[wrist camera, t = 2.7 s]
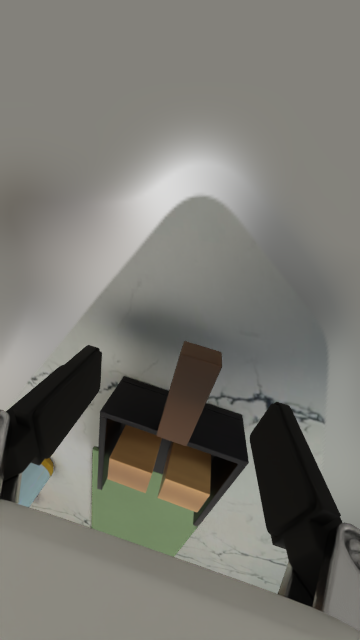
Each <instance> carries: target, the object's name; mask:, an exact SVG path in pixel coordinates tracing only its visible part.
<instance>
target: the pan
mask: <svg viewBox="0 0 360 640" xmlns="http://www.w3.org/2000/svg"><path fill="white" fill-rule="evenodd" d="M221 368H222V353H221V352H219V351H216V350H213V349H209V348H206V347H203V346H200V345H196V344H193V343H190V342H187V341H184V343H183V346H182V349H181V352H180V356H179V359H178V362H177V366H176V369H175V373H174V376H173V379H172V383H171V386H170V390H169V391H167V390H163V389H160V388H157V387H154V386H151V385H148V384H145V383H142V382H139V381H136V380H133V379H130V378H127V377H123V378H122V380H121V381H120V383H119V384H118V386H117V387H116V389H115V390H114V391H113V393H112V394H111V396H110V397H109V399H108V400H107V402H106V403H105V405H104V406H103V408H102V409H101V411H100V429H99V453H98V478H97V489H99V490H102V489H103V486H104V484H105V482H106V480H107V478H108V468H109V458H110V456H111V454H112V452H113V450H114V448H115V446H116V444H117V442H118V439H119V437H120V435H121V433H122V431H123V429H124V427H125V425H128V426H131V427H134V428H137V429H140V430H143V431H146V432H148V433H151V434H154V435H156V436H158V437H161V438H162V440H161V443H160V447H159V451H158V454H157V458H156V462H155V465H154V469H153V471H155V472H158V473H160V474H163V471H164V467H165V463H166V458H167V454H168V451H169V448H170V446H171V443H172V442H175V443H178V444H181V445H183V446H189V447H191V448H194V449H197V450H200V451H203V452H206V453H209V454H211V478H210V496H209V497H208V498H207V500H206V501H205V503H204V504H203V505H202V507H201V508H200V510H199V511H198V512H194V516H193V525H194V526H197V527H198V526H199V525H200V523H201V522H202V521H203V520H204V518H205V517H206V516H207V515H208V513H209V512H210V511H211V510H212V508H213V507H214V506H215V504H216V503H217V502H218V501H219V499H220V498H221V497H222V496H223V494H224V493H225V492H226V491H227V489H228V488H229V487H230V486H231V484H232V483H233V482H234V481H235V479H236V478H237V477H238V476H239V474H240V473H241V472H242V471H243V469H244V468H245V466H247V464H248V463H249V461H248V454H247V447H246V440H245V432H244V425H243V418H242V415H239V414H236V413H233V412H230V411H227V410H224V409H221V408H218V407H215V406H212V405H209V404H206V402H207V399H208V397H209V395H210V393H211V390H212V388H213V386H214V384H215V381H216V379H217V377H218V375H219V372H220V370H221Z"/></svg>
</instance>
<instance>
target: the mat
mask: <svg viewBox="0 0 360 640" xmlns="http://www.w3.org/2000/svg"><path fill="white" fill-rule="evenodd" d="M98 453H99V448H97V447H94V448H93V450H92V529H95V530H98V531H101V532H104V533H106V534H109V535H112V536H115V537H118V538H121V539H124V540H127V541H129V542H132V543H135V544H138V545H141V546H144V547H147V548H149V549H152V550H155V551H158V552H161V553H164V554H167V555H169V556H172V557H174V556H175V555H176V553H177V552H178V551H179V550H180V548H181V547H182V546H183V545H184V543H185V542H186V541H187V540H188V538H189V537H190V536H191V535H192V533H193V532H194V531H195V530H196V528H197V526H194V525H193V516H194V511H191V510H189V509H186V508H183V507H181V506H178V505H175V504H173V503H170V502H167V501H165V500H162V499H159V498H158V493H159V489H160V484H161V480H162V476H163V474H160V473H158V472H155V471H153V472H152V476H151V479H150V482H149V485H148V488H147V491H146V493H143V492H141V491H138V490H135V489H133V488H130V487H127V486H125V485H122V484H119V483H117V482H114V481H111V480H109V479H107V480H106V482H105V484H104V486H103V489H102V490H99V489H97V478H98ZM219 500H220V499H219ZM215 505H216V504H215Z"/></svg>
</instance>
